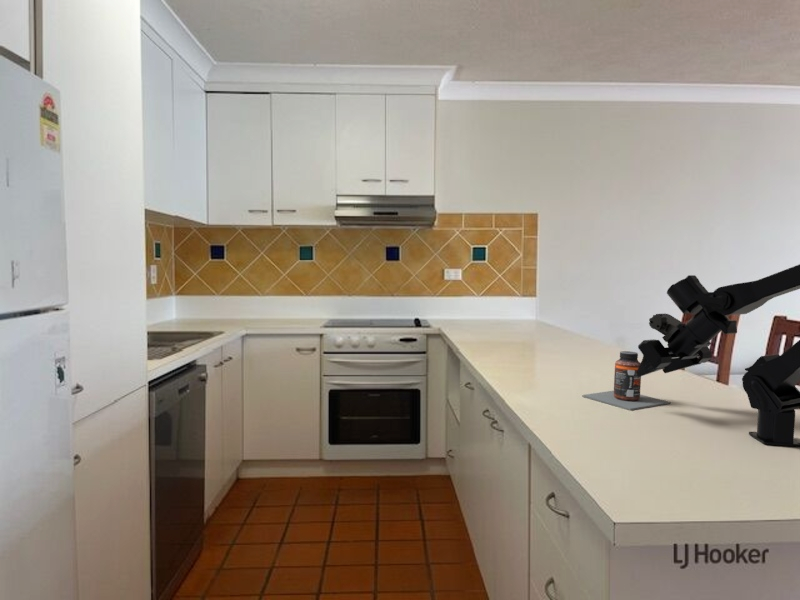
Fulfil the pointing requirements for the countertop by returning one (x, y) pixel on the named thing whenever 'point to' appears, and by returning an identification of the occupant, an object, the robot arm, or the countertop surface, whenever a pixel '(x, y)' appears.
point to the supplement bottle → (627, 377)
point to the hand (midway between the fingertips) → (651, 373)
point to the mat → (629, 405)
